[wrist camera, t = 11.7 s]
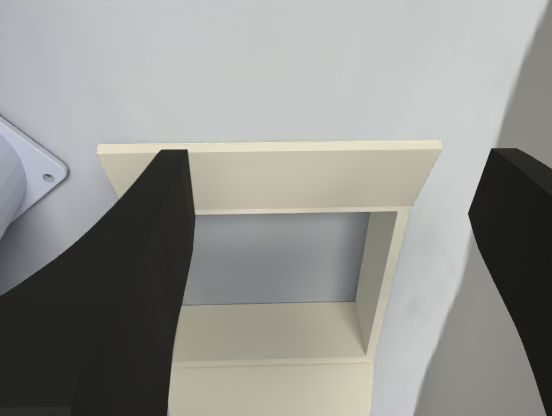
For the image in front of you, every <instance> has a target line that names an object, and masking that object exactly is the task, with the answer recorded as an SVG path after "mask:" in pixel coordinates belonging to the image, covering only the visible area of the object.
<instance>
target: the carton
mask: <svg viewBox="0 0 552 416" xmlns="http://www.w3.org/2000/svg"><path fill="white" fill-rule="evenodd" d="M161 149H188V156H189V165H190V174H191V182H192V191H193V200H194V208H195V215H210V214H266V213H323V212H370V217H369V223H368V229H367V235H366V240H365V246H364V252H363V258H362V263H361V269H360V275H359V280H358V286H357V292H356V298H355V302H315V303H273V304H231V305H189V306H181V310H180V315H179V320H178V325H177V329H176V335H175V342H174V348H173V357H172V367H171V377H170V387H169V398H168V408H169V416H370V410H371V397H372V384H373V371H374V362H373V361H374V357H375V352H376V348H377V344H378V340H379V336H380V332H381V328H382V323H383V319H384V315H385V311H386V307H387V303H388V299H389V294H390V290H391V286H392V282H393V278H394V274H395V270H396V265H397V261H398V257H399V253H400V249H401V245H402V241H403V236H404V232H405V228H406V224H407V220H408V216H409V212H410V207H411V206H413V204H414V202H415V200H416V199H417V197H418V195H419V193H420V191H421V189H422V187H423V185H424V183H425V181H426V179H427V177H428V176H429V174H430V172H431V170H432V168H433V166H434V164H435V162H436V160H437V158H438V156H439V154H440V153H441V151H442V146H441V142H440V140H397V141H320V142H243V143H165V144H98V148H97V153H96V154H97V156H98V158H99V160H100V162H101V164H102V166H103V168H104V170H105V172H106V174H107V176H108V178H109V180H110V182H111V184H112V186H113V188H114V190H115V192H116V194H117V196H118V198H119V199H120V198H121V197H122V196H123V194H124V193H125V192H126V191H127V190H128V189H129V188H130V186H131V185H132V184H133V183H134V182H135V181H136V179H137V178H138V177H139V176H140V175H141V173H142V172H143V171H144V170H145V168H146V167H147V166H148V165H149V163H150V162H151V161H152V159H153V158H154V157H155V156H156V154H157V153H158V152H159V151H160V150H161Z"/></svg>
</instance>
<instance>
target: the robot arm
mask: <svg viewBox="0 0 552 416" xmlns="http://www.w3.org/2000/svg"><path fill="white" fill-rule="evenodd" d="M67 173H68V169H67V166H66V165H65V164H64V163H63V162H61V161H60V160H59V159H57V158H56V157H55V156H53V155H52V154H51V153H49V152H48V151H47V150H45V149H44V148H42V147H41V146H40V145H38V144H37V143H36V142H34V141H33V140H32V139H30V138H29V137H28V136H26V135H25V134H24V133H22V132H21V131H20V130H18V129H17V128H16V127H14V126H13V125H12V124H10V123H9V122H7V121H6V120H5V119H3V118H2V117H1V116H0V239H1V237H2V236H3V234H4V232H5V230H6V229H7V227H8V225H9V224H11V223H12V222H13V221H14V220H15V219H17V218H18V217H19V216H20V215H21V214H23V213H24V212H25V211H26V210H27V209H29V208H30V207H31V206H32V205H33V204H35V203H36V202H37V201H38V200H39V199H41V198H42V197H43V196H44V195H45V194H47V193H48V192H49V191H50V190H51V189H52V188H54V187H55V186H56V185H57V184H58V183H60V182H61V181H62V180H63V179H64V178H65V177H66V175H67ZM46 174H50V175H52V176H53V177H54V178H50V177H48V176H47V175H46ZM468 215H469V219H470V222H471V226H472V230H473V233H474V236H475V239H476V242H477V245H478V249H479V251H480V253H481V255H482V257H483V259H484V262H485V264H486V266H487V268H488V270H489V272H490V274H491V276H492V279H493V281H494V283H495V285H496V287H497V289H498V291H499V293H500V295H501V297H502V299H503V301H504V303H505V305H506V307H507V309H508V312H509V313H510V315H511V318H512V320H513V322H514V324H515V326H516V328H517V331H518V333H519V336H520V338H521V340H522V343H523V345H524V348H525V351H526V354H527V357H528V360H529V363H530V365H531V368H532V371H533V373H534V377H535V380H536V383H537V386H538V390H539V393H540V396H541V399H542V402H543V406H544V409H545V412H546V415H547V416H552V169H551V168H549V167H548V166H546V165H545V164H543V163H541V162H540V161H538V160H536V159H535V158H533V157H532V156H530V155H528V154H526V153H525V152H523V151H521V150H519V149H516V148H491V151H490V154H489V156H488V159H487V162H486V165H485V167H484V170H483V173H482V176H481V179H480V181H479V184H478V187H477V190H476V193H475V195H474V198H473V201H472V204H471V207H470V209H469V212H468ZM194 228H195V208H194V200H193V191H192V182H191V174H190V165H189V156H188V149H161V150H160V151H159V152H158V153H157V154H156V156H155V157H154V158H153V159H152V161H151V162H150V163H149V165H148V166H147V167H146V168H145V170H144V171H143V172H142V173H141V175H140V176H139V177H138V178H137V179H136V181H135V182H134V183H133V184H132V185H131V186H130V188H129V189H128V190H127V191H126V192H125V193H124V194H123V196H122V197H121V198H120V199H119V200H118V201H117V202H116V203H115V205H114V206H113V207H112V208H111V209H110V210H109V211H108V212H107V213H106V214H105V215H104V216H103V217H102V218H101V219H100V220H99V221H98V222H97V223H96V224H95V225H94V226H93V227H92V228H91V229H90V230H89V231H88V232H86V233H85V234H84V235H83V236H82V237H81V238H80V239H79V240H78V241H76V242H75V243H74V244H73V245H72V246H70V247H69V248H68V249H67V250H66V251H64V252H63V253H62V254H61V255H59V256H58V257H57V258H56V259H54V260H53V261H51V262H50V263H49V264H47V265H46V266H44V267H43V268H41V269H40V270H39V271H37V272H36V273H34V274H33V275H32V276H30V277H29V278H27V279H26V280H25V281H23V282H22V283H20V284H19V285H17V286H16V287H14V288H13V289H11V290H9V291H8V292H6V293H5V294H3V295H1V296H0V416H167V410H168V398H169V387H170V377H171V367H172V357H173V348H174V342H175V335H176V329H177V325H178V320H179V315H180V310H181V305H182V301H183V296H184V291H185V286H186V282H187V277H188V272H189V267H190V262H191V257H192V252H193V241H194Z"/></svg>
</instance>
